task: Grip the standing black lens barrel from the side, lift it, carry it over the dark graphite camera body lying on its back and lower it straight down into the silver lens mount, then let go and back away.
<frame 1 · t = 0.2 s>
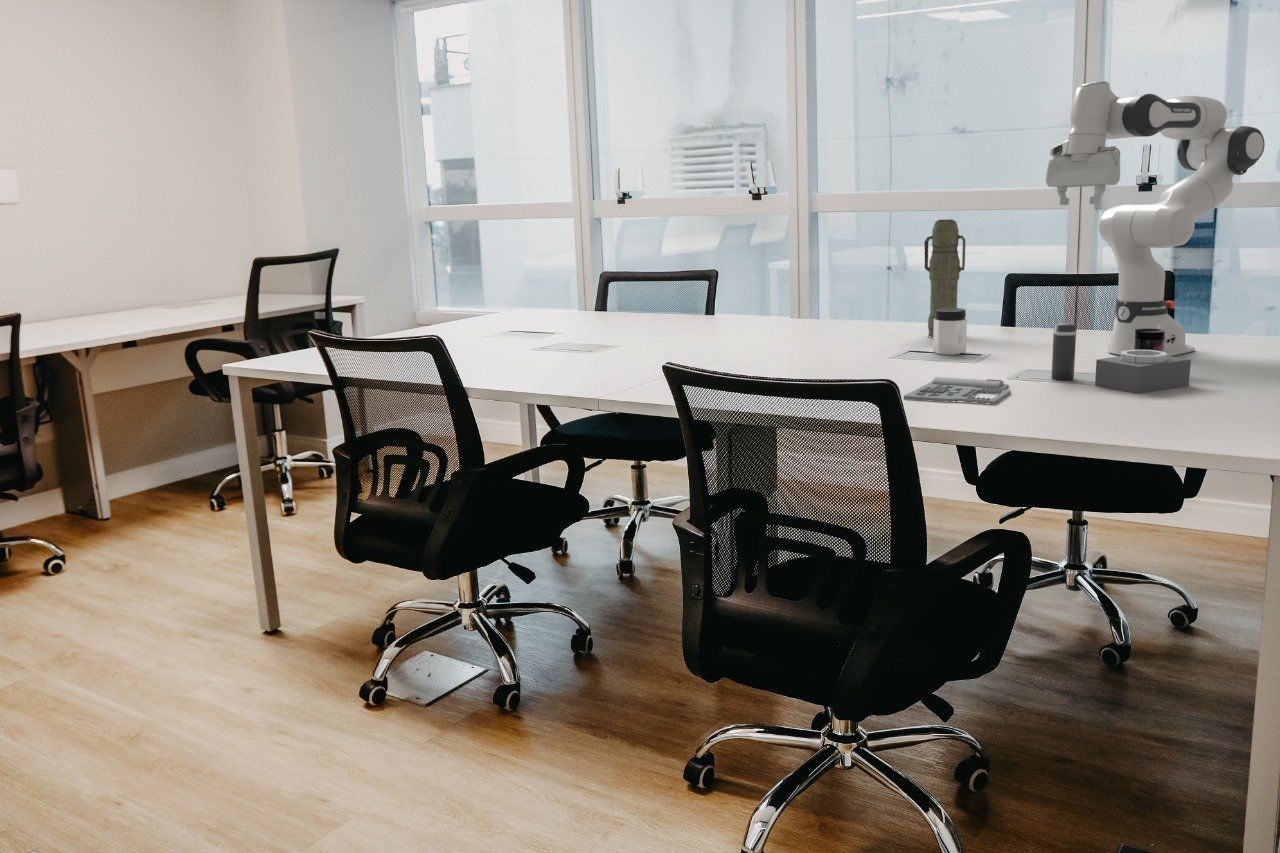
hand: (1078, 204, 275), 40 cm above the table, tool pointing down, fingers open, 8 cm apart
lens: (1062, 378, 262), on the table
thermos: (942, 337, 335), on the table
office telephone: (962, 396, 251), on the table
camera body: (1141, 385, 251), on the table
jar: (949, 353, 305), on the table
supplement container: (1147, 374, 265), on the table
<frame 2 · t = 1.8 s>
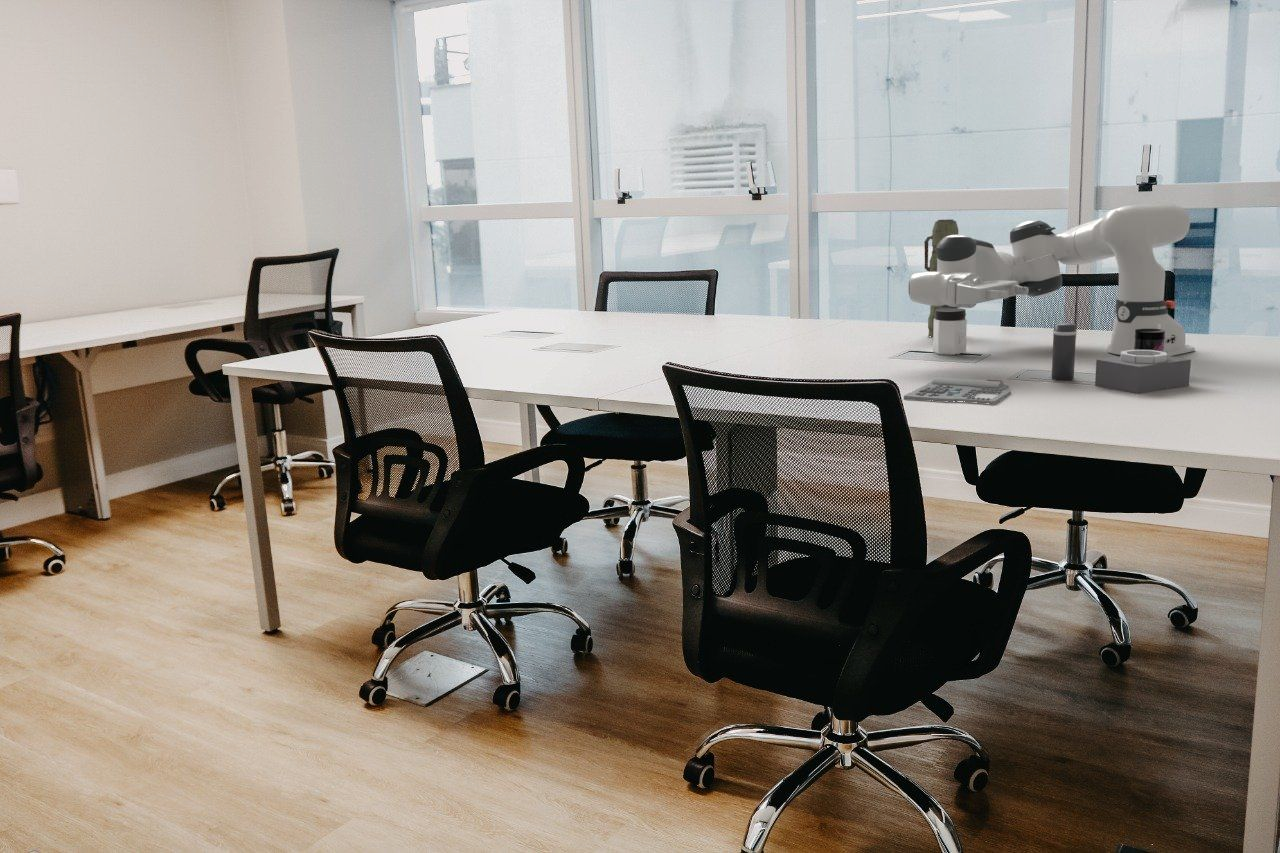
hand: (1017, 292, 267), 20 cm above the table, tool horizontal, fingers open, 8 cm apart
nothing on the table moved.
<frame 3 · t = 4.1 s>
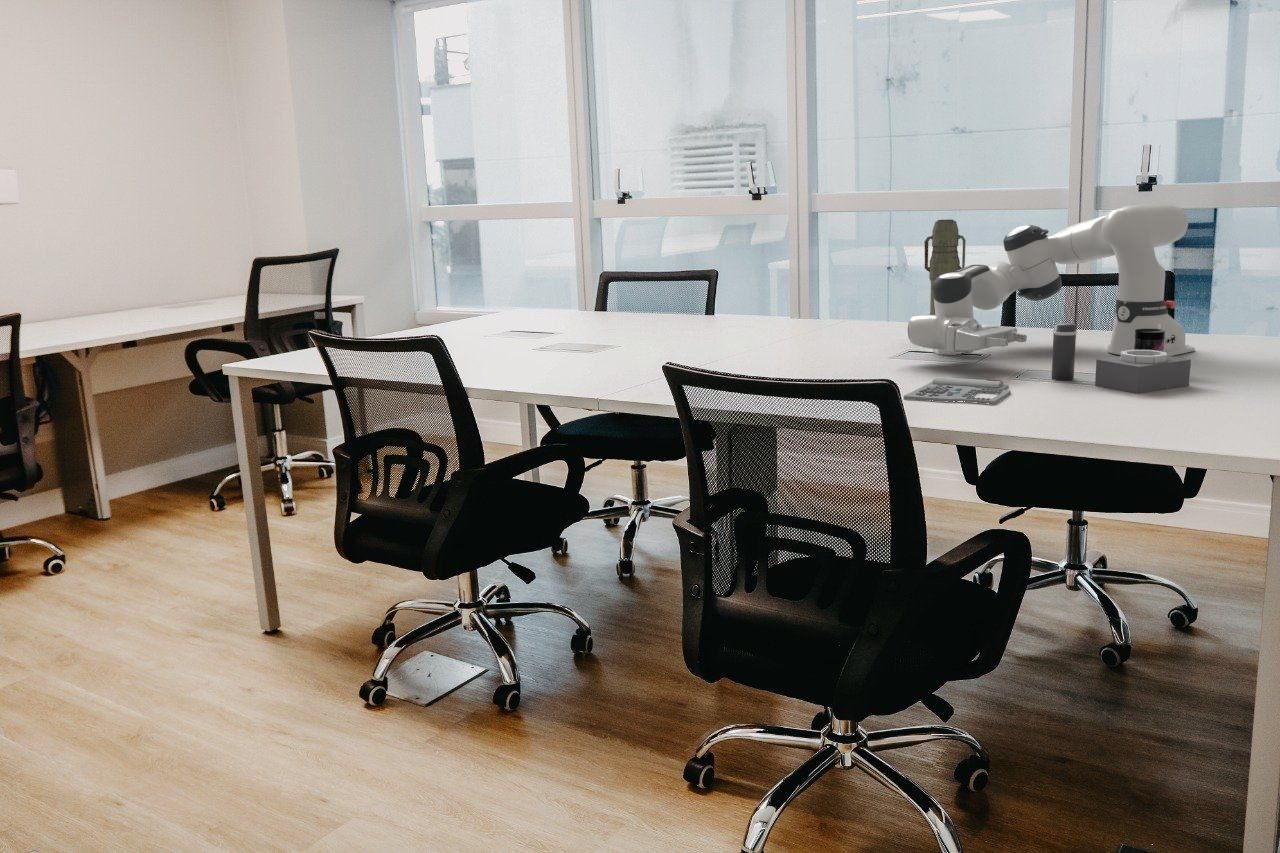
hand: (1016, 340, 269), 8 cm above the table, tool horizontal, fingers open, 8 cm apart
jar: (949, 353, 305), on the table, touching arm
everything else where it was.
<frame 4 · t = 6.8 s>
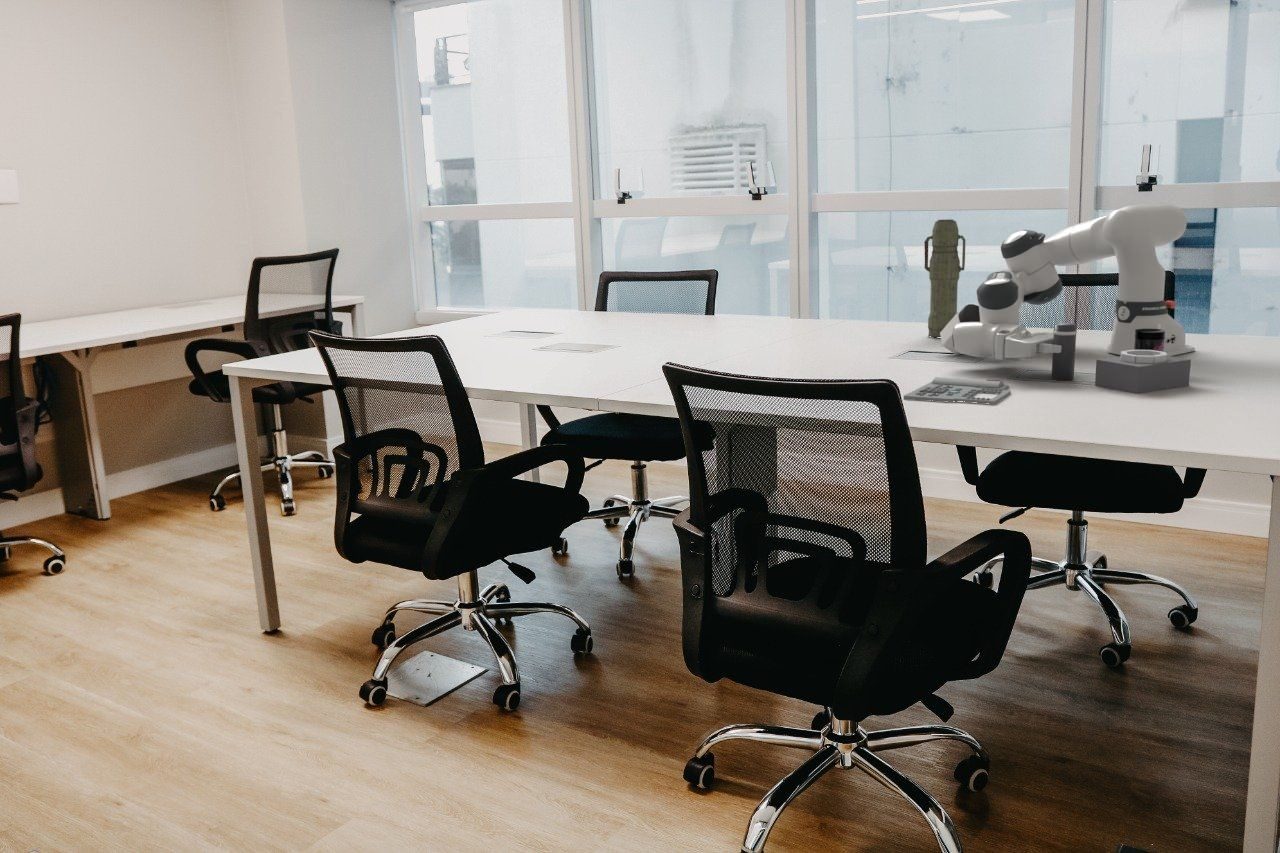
hand: (1068, 347, 260), 8 cm above the table, tool horizontal, fingers closed on lens, 5 cm apart
lens: (1062, 378, 262), on the table, touching gripper
jar: (952, 342, 304), point 3 cm above the table, touching arm
everything else where it was.
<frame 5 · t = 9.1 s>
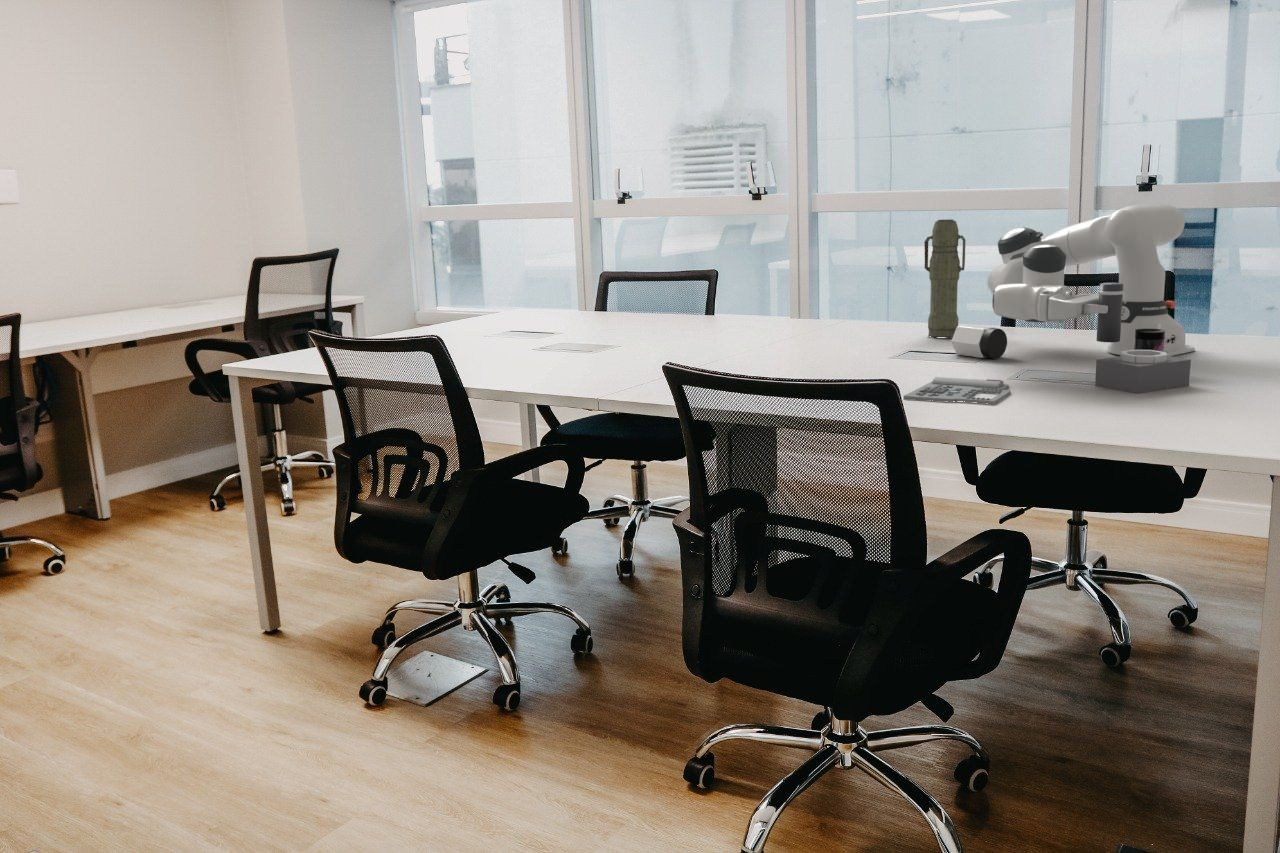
hand: (1114, 307, 250), 18 cm above the table, tool horizontal, fingers closed on lens, 5 cm apart
lens: (1108, 340, 253), point 10 cm above the table, touching gripper
jar: (961, 339, 301), point 4 cm above the table
everything else where it was.
when the fingers open (14 cm above the table, at t = 10.9 s): lens stays where it is, resting on camera body.
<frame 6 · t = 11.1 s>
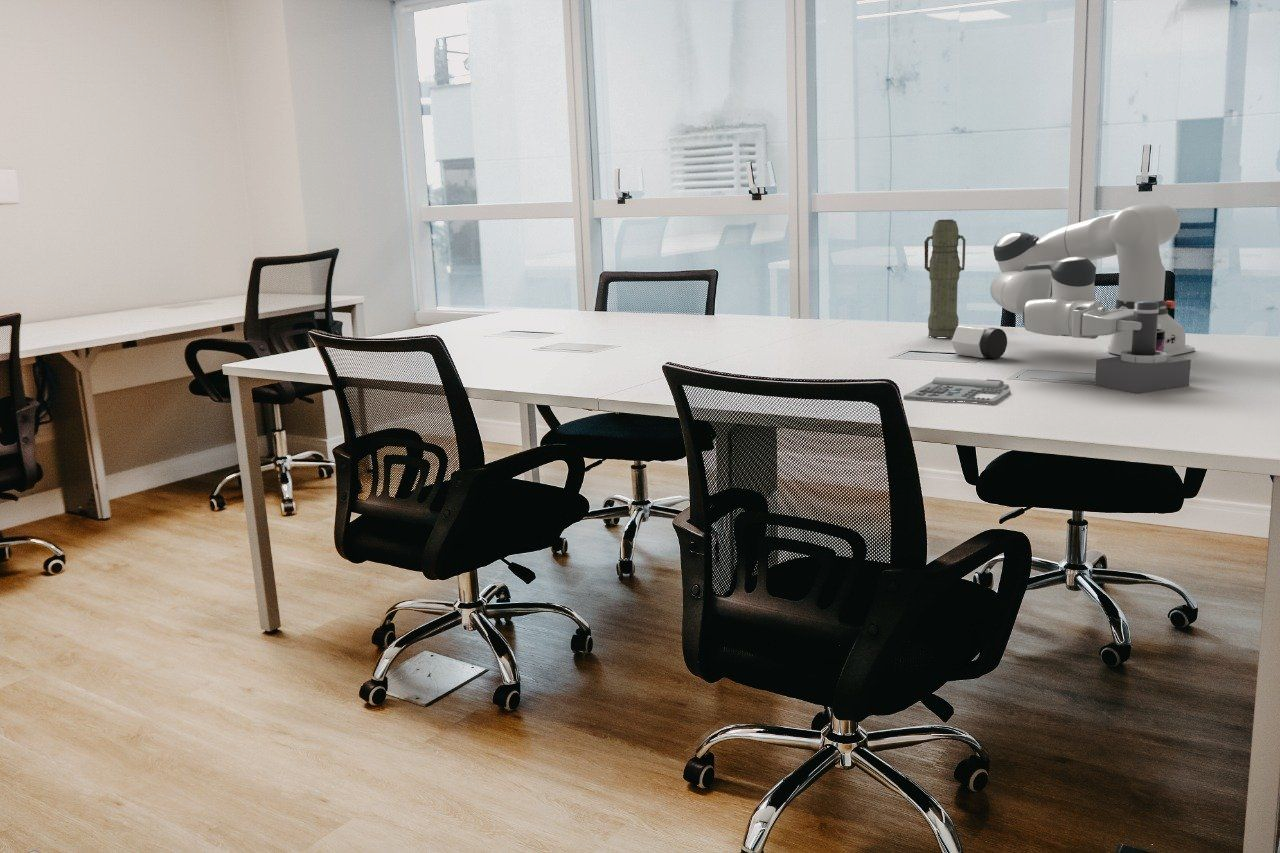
hand: (1149, 323, 247), 14 cm above the table, tool horizontal, fingers open, 7 cm apart
lens: (1142, 359, 250), point 6 cm above the table, touching camera body
everything else where it was.
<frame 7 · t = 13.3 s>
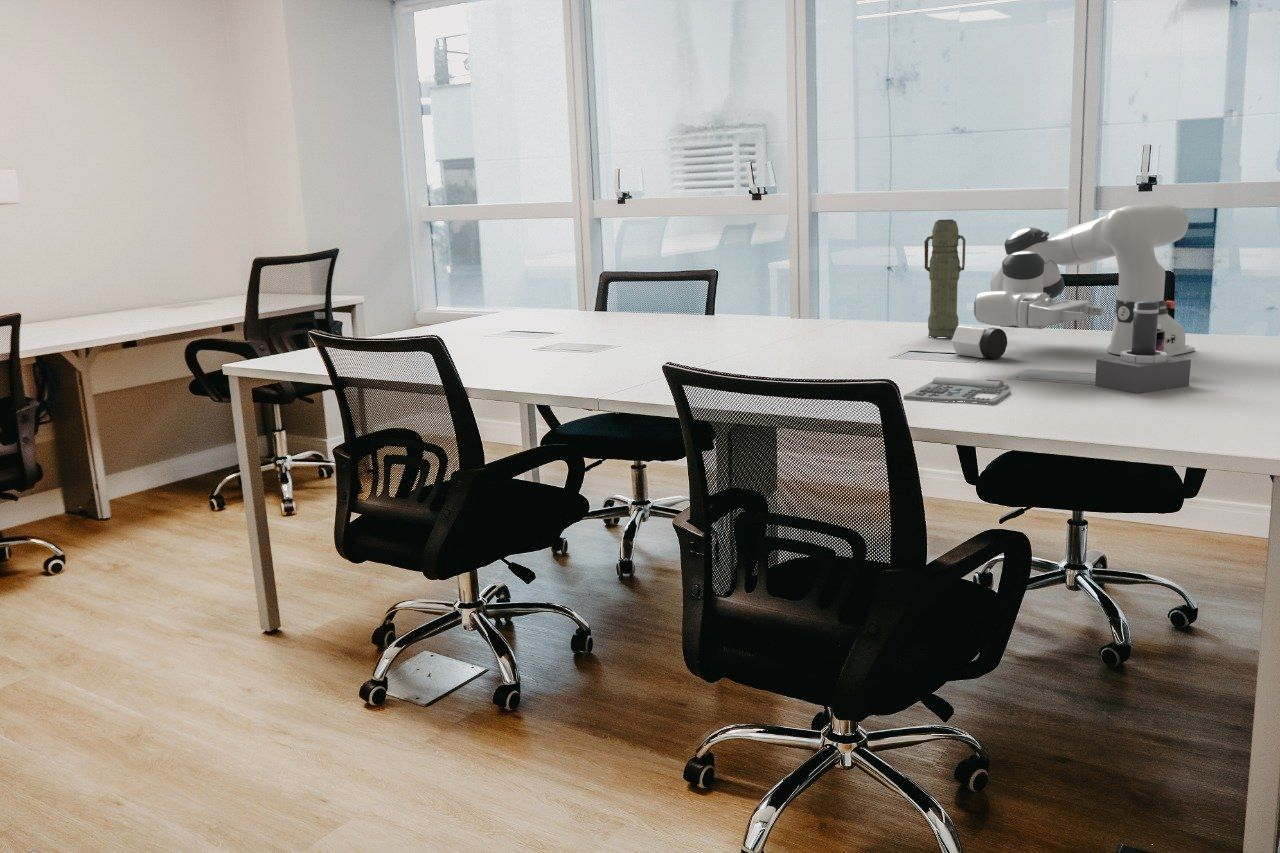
hand: (1092, 314, 256), 16 cm above the table, tool horizontal, fingers open, 8 cm apart
nothing on the table moved.
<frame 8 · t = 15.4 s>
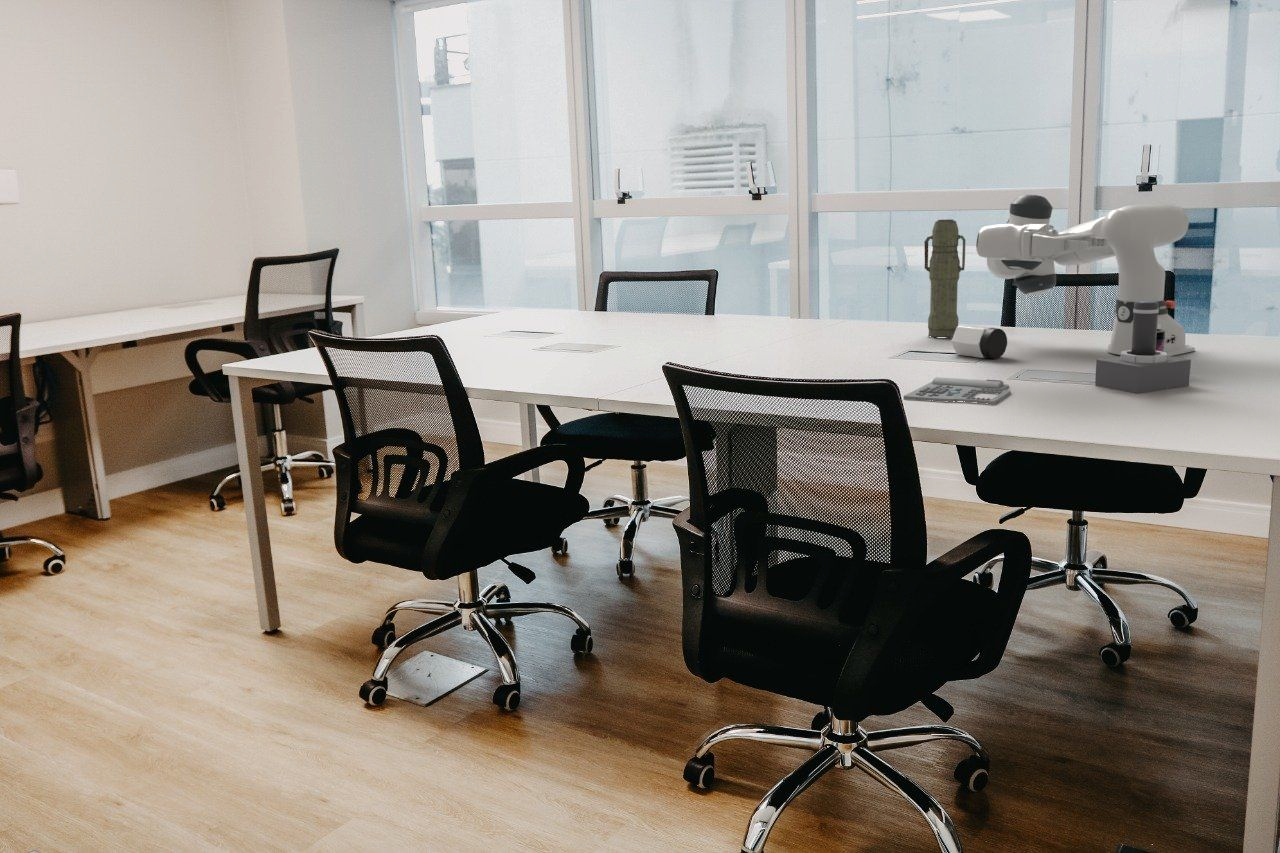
hand: (1097, 243, 253), 32 cm above the table, tool horizontal, fingers open, 8 cm apart
nothing on the table moved.
at the end: lens 0.1 cm off-centre on the camera body, point 6.0 cm above the camera body's base; lens tilted 0°; the gripper is holding nothing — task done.
